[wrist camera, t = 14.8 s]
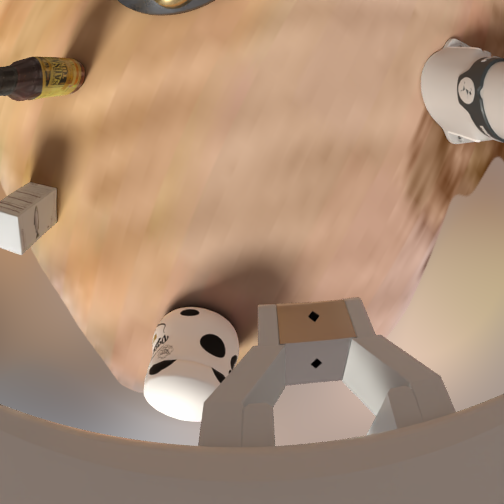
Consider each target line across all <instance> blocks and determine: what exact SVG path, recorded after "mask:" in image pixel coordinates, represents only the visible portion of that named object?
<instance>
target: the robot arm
mask: <svg viewBox="0 0 504 504" xmlns="http://www.w3.org/2000/svg"><path fill="white" fill-rule="evenodd" d="M459 46H460V47H459ZM421 92H422V97H423V100H424V103H425V106H426V108H427V110H428V112H429V113H430V115H431V116H432V118H433V119H434V120H435V121H436V122H437V123H438V124H439V125H440V126H441V127H442V128H443V130H444V133H445V135H446V137H447V139H448V141H449V142H450V143H453V144H461V143H469V142H480V141H486V140H496V141H499V142H500V141H501V142H504V59H503V58H500V57H497V56H492V57H491V53H490V52H488V51H482V49H480V48H475V47H470V46H468V45H466V44H465V43H463V42H461V41H459V40H457V39H453V38H451V39H449V40H448V41H447V42H446V44H445V46H444V47H443V49H441V50H440V51H438V52H436V53H434V54H433V55H432V56H431V57H430V58H429V59H428V60H427V62H426V63H425V65H424V68H423V71H422V76H421ZM458 136H460V137H459V138H458ZM338 380H342V382H343V383H344V384H345V385H346V386H347V387H348V388H349V389H350V390H351V391H352V392H353V393H354V394H355V395H356V396H357V397H358V398H359V399H360V400H361V402H362V403H363V404H364V405H365V406H366V407H367V408H368V409H369V410H370V411H371V412H372V413H373V414H374V415H375V416H376V418H375V420H374V422H373V424H372V426H371V428H370V430H369V431H368V433H367V435H365V436H360V437H354V438H348V439H342V440H335V441H327V442H319V443H309V444H299V445H286V446H275V435H274V416H273V407H274V405H275V403H276V402H277V400H278V398H279V397H280V395H281V394H282V392H283V390H284V389H285V386H286V385H296V384H306V383H314V382H327V381H338ZM0 504H504V394H502V395H500V396H497V397H495V398H493V399H490V400H488V401H485V402H483V403H480V404H477V405H475V406H472V407H469V408H467V409H464V410H461V411H458V412H456V411H455V409H454V407H453V404H452V402H451V399H450V397H449V395H448V392H447V390H446V388H445V385H444V383H443V381H442V379H441V377H440V376H439V375H438V374H436V373H435V372H434V371H432V370H431V369H429V368H428V367H426V366H425V365H424V364H422V363H421V362H419V361H418V360H416V359H415V358H413V357H412V356H411V355H409V354H408V353H406V352H405V351H403V350H402V349H400V348H399V347H398V346H396V345H394V344H393V343H392V342H390V341H389V340H388V339H386V338H385V337H383V336H382V335H376V334H375V332H374V329H373V327H372V324H371V322H370V319H369V317H368V315H367V312H366V310H365V307H364V305H363V302H362V300H361V299H360V298H359V297H355V298H347V299H341V300H330V301H318V302H303V303H281V304H262V305H258V346H253V347H252V348H251V349H250V350H249V351H248V353H247V354H246V355H245V356H244V357H243V358H242V360H241V361H240V362H239V363H238V364H237V365H236V367H235V368H234V369H233V370H232V371H231V372H230V373H229V375H228V376H227V377H226V378H225V379H224V380H223V381H222V382H221V384H220V385H219V386H218V387H217V388H216V389H215V390H214V391H213V393H212V394H211V395H210V396H209V397H208V398H207V399H206V400H205V401H204V404H203V412H202V420H201V428H200V436H199V444H198V446H189V445H176V444H166V443H157V442H148V441H141V440H134V439H127V438H121V437H115V436H110V435H105V434H100V433H95V432H90V431H86V430H81V429H77V428H73V427H69V426H66V425H62V424H58V423H55V422H51V421H48V420H44V419H41V418H37V417H34V416H32V415H29V414H26V413H23V412H20V411H17V410H14V409H11V408H9V407H6V406H3V405H1V404H0Z"/></svg>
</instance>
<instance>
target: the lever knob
mask: <svg viewBox="0 0 504 504" xmlns="http://www.w3.org/2000/svg"><path fill="white" fill-rule="evenodd" d="M154 1H155V2H156V3H158V4H159V5H160V6H162V7H164V8H167V9H178V8H181V7H183V6H185V5H187V4H188V3H190V2H191V1H192V0H154Z"/></svg>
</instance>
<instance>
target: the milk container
mask: <svg viewBox="0 0 504 504" xmlns="http://www.w3.org/2000/svg"><path fill="white" fill-rule="evenodd" d="M152 346H153V355H152V358H151V361H150V364H149V367H148V370H147V374H146V377H145V383H144V396H145V398H146V400H147V401H148V403H149V404H150V405H151V406H153V407H154V408H155V409H156V410H158V411H160V412H162V413H163V414H166V415H167V416H170V417H173V418H177V419H180V420H186V421H193V422H201V420H202V412H203V404H204V401H205V400H206V399H207V398H208V397H209V396H210V395H211V394H212V393H213V391H214V390H215V389H216V388H217V387H218V386H219V385H220V384H221V382H222V381H223V380H224V379H225V378H226V377H227V376H228V375H229V373H230V372H231V371H232V370H233V369H234V367H235V364H236V362H237V359H238V355H239V342H238V337H237V333H236V331H235V329H234V327H233V326H232V325H231V323H230V322H229V321H228V320H227V319H226V318H224V317H223V316H222V315H220V314H219V313H217V312H214V311H212V310H209V309H206V308H201V307H183V308H178V309H175V310H173V311H171V312H170V313H168V314H167V315H165V316H164V317H163V318H162V320H161V321H160V323H159V324H158V326H157V328H156V330H155V332H154V336H153V345H152Z"/></svg>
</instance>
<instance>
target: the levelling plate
mask: <svg viewBox="0 0 504 504" xmlns="http://www.w3.org/2000/svg"><path fill="white" fill-rule="evenodd" d="M118 1H119V2H120V3H122V4H123V5H125V6H126V7H128V8H130V9H132V10H135V11H137V12H140V13H144V14H150V15H174V14H180V13H185V12H189V11H192V10H195V9H198V8H200V7H203V6H205V5H207V4H209V3H211V2H213V1H215V0H192V1H191V2H190V3H188V4H187V5H185V6H183V7H181V8H178V9H167V8H164V7H162V6H160V5H159V4H158V3H156V2H155V1H154V0H118Z"/></svg>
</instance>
